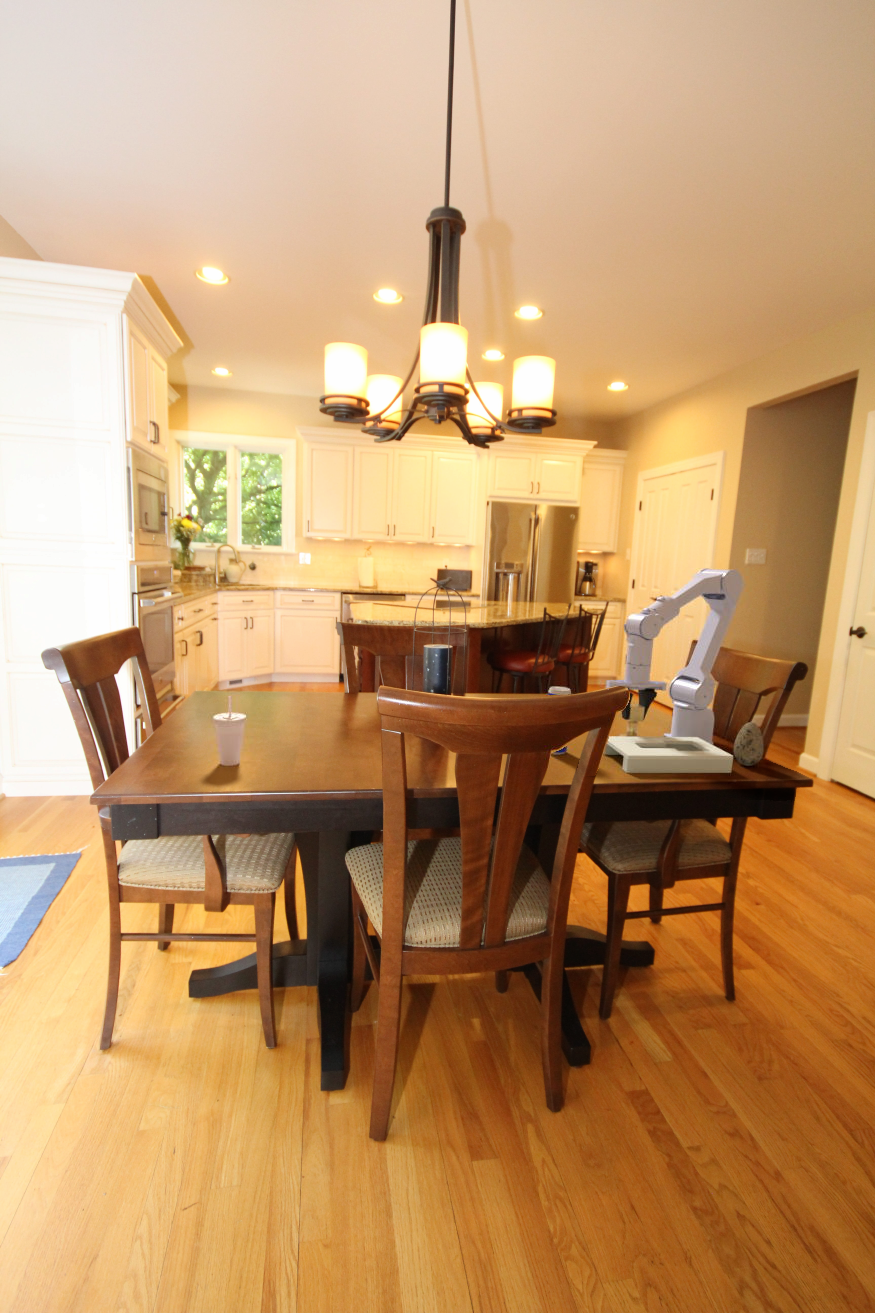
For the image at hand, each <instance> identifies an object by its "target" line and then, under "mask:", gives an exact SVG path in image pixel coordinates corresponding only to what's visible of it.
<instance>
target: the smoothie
mask: <svg viewBox="0 0 875 1313" xmlns="http://www.w3.org/2000/svg"><path fill="white" fill-rule="evenodd" d="M232 711H233V710H232V695H228V712H223V713H218V714H216V715H213V717H212V723H213V724H214V728H215V734H216V735H215V736H216V743H217V749H218V755H219V757H218V758H219V762H220V763H219V764H220V765H222V766H225V767H229V766H230V767H231V766H237V765H239V764H240V762H241V753H242V748H243V738H244V732H245V731H244V730H245V723H247V715H246V714H244V713H240V712H232Z"/></svg>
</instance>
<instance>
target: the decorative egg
mask: <svg viewBox="0 0 875 1313" xmlns="http://www.w3.org/2000/svg"><path fill="white" fill-rule="evenodd" d="M764 747H765V746H764V739H763V734H762V732H761V729H760V727H759V726H758V725H757V724H756V723H755V722H751V721H749V722H746V723H745V724H744V725H743V726H742V727H741V728H740V730H739V731H738V733H737V735H736V737H735V740H734V743H733V756H734V757H735V759H736V761H737V762H738V763H739V764H741V765H743V766H747V767H750V766H754V765H756V764H758V763H759V762H760V761H761V759H762V757H763V754H764Z"/></svg>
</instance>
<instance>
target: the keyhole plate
mask: <svg viewBox="0 0 875 1313" xmlns="http://www.w3.org/2000/svg"><path fill="white" fill-rule="evenodd" d="M608 736H609V735H608ZM605 755H606V756H610V755H611V756H620V755H621V756H623V759H622V760H623V761H622V770H623V772H625V773H626V774H627V773H628V774H638V773H639V774H640V773H641V774H661V773H662V774H663V773H664V774H665V773H666V774H669V773H670V774H679V773H680V774H681V773H682V774H685V773H686V774H690V773H691V774H701V773H702V774H709V773H710V774H711V773H712V774H714V773H715V774H718V773H719V774H720V773H721V774H723V773H724V774H727V773H728V774H729V773H730V774H731V773H732V768H733V763H734V762H733V760H734V754H733V755H732V754H731V753H729V752H727V751H724V750H723V749H721V748H720V747H717V746H715V745H714V744H710V743H708V742H706V741H704V740H702V739H700V738H698V737H666V736H641V737H623V736H619V735H618V736H616V735H615V736H612V735H611V736H609V739H608V742H607V745H606V748H605V754H604V756H605Z"/></svg>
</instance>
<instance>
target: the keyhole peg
mask: <svg viewBox="0 0 875 1313" xmlns="http://www.w3.org/2000/svg"><path fill="white" fill-rule="evenodd" d="M644 709H645V707H643V706H641V705H639V703H631V704H630V712H629V718H628V720H627V725H626V733H620V734H618V736H623V737H642V736H641V735H638V728H639V727H638V726H639V725H638V724H639V722H644V720H643V718H644Z"/></svg>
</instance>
